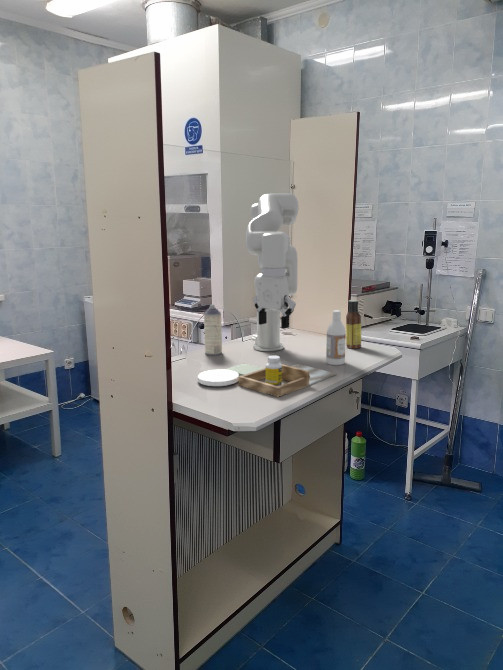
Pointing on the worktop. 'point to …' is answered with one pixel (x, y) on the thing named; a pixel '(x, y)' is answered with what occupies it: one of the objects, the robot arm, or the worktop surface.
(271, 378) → the supplement bottle
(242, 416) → the worktop surface
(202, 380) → the plastic lid
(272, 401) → the worktop surface
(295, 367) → the frame
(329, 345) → the bath foam
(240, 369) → the tray
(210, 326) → the aerosol can
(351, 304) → the sauce bottle
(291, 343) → the worktop surface
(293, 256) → the robot arm
